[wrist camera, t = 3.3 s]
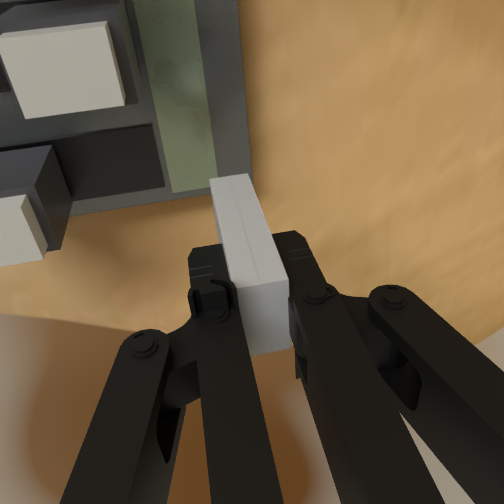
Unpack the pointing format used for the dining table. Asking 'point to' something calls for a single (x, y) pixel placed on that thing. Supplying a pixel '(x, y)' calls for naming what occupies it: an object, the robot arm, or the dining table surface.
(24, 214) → the block
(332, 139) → the dining table surface
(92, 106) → the breaker mid row
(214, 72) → the panel
